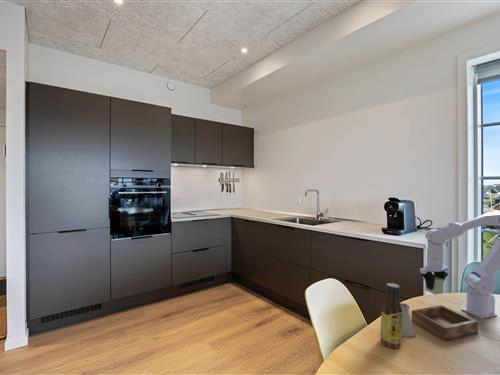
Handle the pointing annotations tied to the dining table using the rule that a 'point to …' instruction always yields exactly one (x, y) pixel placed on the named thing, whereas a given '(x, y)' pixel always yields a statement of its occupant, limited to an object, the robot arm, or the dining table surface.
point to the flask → (406, 322)
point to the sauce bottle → (391, 317)
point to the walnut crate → (445, 322)
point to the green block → (436, 286)
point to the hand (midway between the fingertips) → (434, 288)
